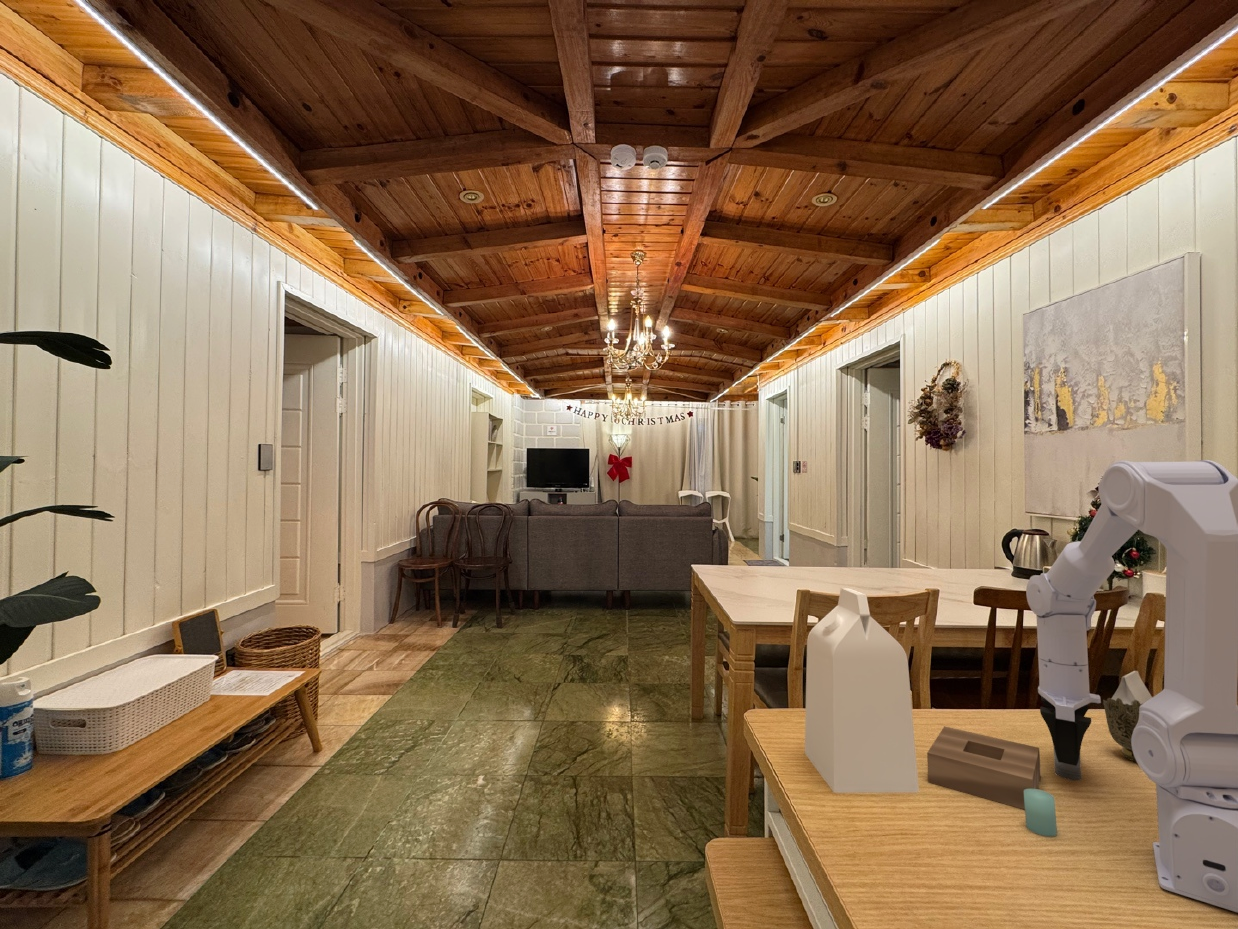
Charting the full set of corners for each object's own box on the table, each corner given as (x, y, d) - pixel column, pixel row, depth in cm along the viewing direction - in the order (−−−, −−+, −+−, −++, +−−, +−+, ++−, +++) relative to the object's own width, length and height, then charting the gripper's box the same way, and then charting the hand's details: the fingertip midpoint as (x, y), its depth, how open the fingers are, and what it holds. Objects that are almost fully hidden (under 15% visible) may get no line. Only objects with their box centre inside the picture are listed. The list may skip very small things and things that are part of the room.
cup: (1113, 764, 85) (1110, 709, 85) (1099, 745, 91) (1097, 694, 92) (1180, 775, 81) (1177, 718, 82) (1161, 755, 88) (1158, 702, 88)
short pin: (1056, 839, 66) (1054, 804, 66) (1025, 831, 68) (1022, 796, 68) (1057, 827, 68) (1054, 793, 69) (1026, 819, 70) (1024, 786, 71)
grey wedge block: (1154, 733, 96) (1151, 673, 96) (1141, 743, 92) (1138, 680, 93) (1126, 726, 99) (1123, 668, 100) (1112, 735, 95) (1109, 674, 96)
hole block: (1033, 812, 72) (1032, 779, 72) (928, 782, 80) (927, 752, 80) (1040, 776, 81) (1039, 747, 81) (945, 752, 89) (944, 726, 89)
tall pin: (1081, 782, 79) (1078, 731, 80) (1054, 776, 81) (1052, 726, 82) (1081, 774, 82) (1079, 724, 82) (1055, 768, 84) (1053, 719, 84)
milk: (919, 792, 77) (912, 598, 78) (834, 793, 77) (829, 598, 78) (878, 753, 89) (873, 585, 90) (804, 753, 89) (801, 585, 90)
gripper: (1101, 678, 74) (1107, 785, 74) (1095, 654, 86) (1100, 746, 85) (1035, 668, 79) (1039, 769, 78) (1037, 646, 90) (1041, 734, 89)
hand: (1067, 756), depth 82 cm, fingers open, 4 cm apart
